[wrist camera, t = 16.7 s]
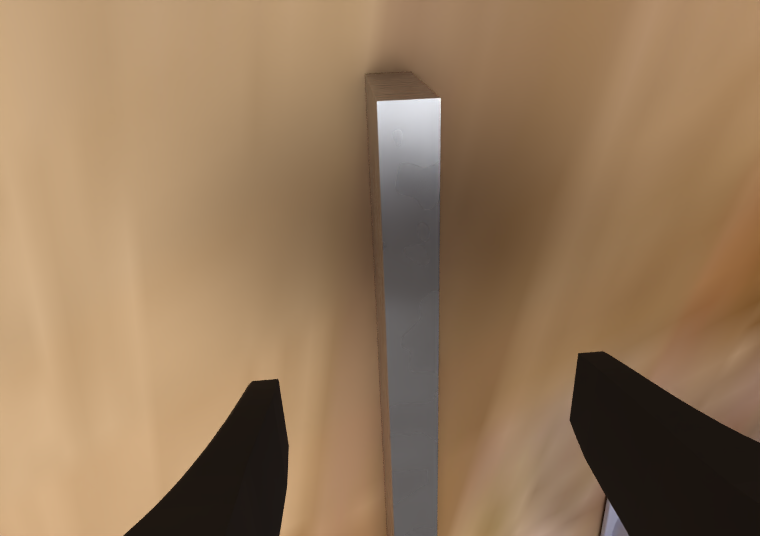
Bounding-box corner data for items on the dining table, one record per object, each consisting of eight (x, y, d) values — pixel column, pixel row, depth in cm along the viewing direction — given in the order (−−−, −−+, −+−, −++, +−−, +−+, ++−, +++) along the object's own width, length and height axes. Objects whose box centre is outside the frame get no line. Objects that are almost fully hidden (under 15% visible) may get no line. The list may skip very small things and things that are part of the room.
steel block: (410, 70, 19) (440, 98, 14) (417, 581, 31) (435, 703, 26) (364, 73, 19) (376, 101, 14) (389, 584, 31) (401, 707, 26)
